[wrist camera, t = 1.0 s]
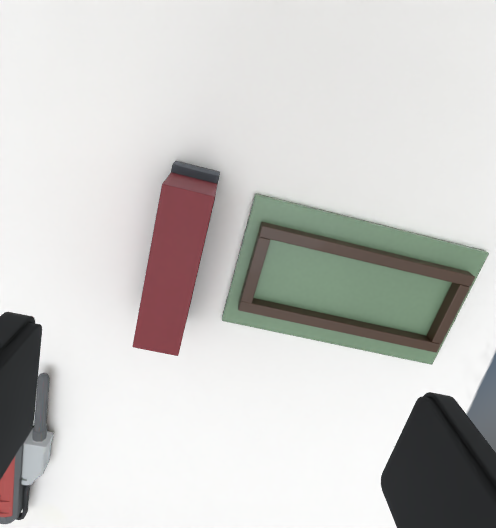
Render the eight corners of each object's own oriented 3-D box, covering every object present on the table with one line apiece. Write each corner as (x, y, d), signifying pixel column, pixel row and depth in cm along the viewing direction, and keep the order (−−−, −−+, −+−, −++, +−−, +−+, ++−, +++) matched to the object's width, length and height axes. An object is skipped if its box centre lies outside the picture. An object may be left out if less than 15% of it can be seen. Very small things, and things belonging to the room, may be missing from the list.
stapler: (175, 160, 33) (163, 174, 28) (220, 171, 34) (217, 188, 28) (146, 311, 38) (132, 349, 33) (185, 319, 39) (177, 358, 33)
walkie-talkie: (48, 509, 48) (61, 367, 40) (30, 548, 44) (42, 398, 36) (-33, 498, 47) (-35, 350, 39) (-59, 537, 43) (-66, 380, 35)
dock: (255, 193, 34) (256, 198, 33) (485, 250, 37) (497, 258, 35) (222, 317, 39) (221, 327, 37) (429, 361, 41) (437, 372, 40)
